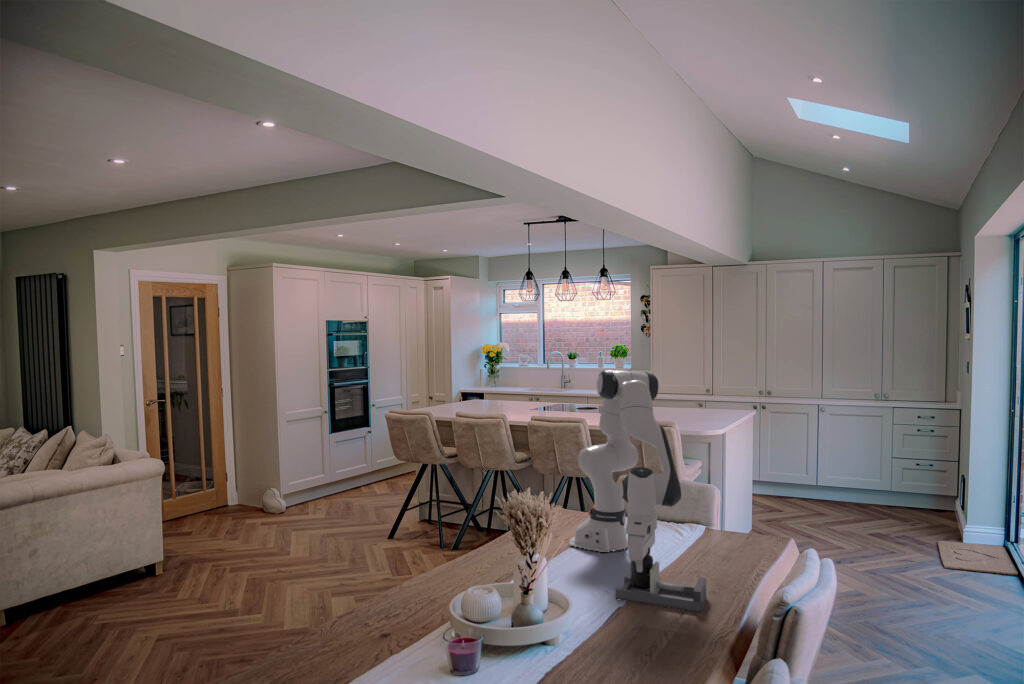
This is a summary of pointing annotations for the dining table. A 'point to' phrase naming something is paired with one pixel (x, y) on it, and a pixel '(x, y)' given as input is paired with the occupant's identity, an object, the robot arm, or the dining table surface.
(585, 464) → the robot arm
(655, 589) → the pusher
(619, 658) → the dining table surface
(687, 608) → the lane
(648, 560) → the supplement bottle
